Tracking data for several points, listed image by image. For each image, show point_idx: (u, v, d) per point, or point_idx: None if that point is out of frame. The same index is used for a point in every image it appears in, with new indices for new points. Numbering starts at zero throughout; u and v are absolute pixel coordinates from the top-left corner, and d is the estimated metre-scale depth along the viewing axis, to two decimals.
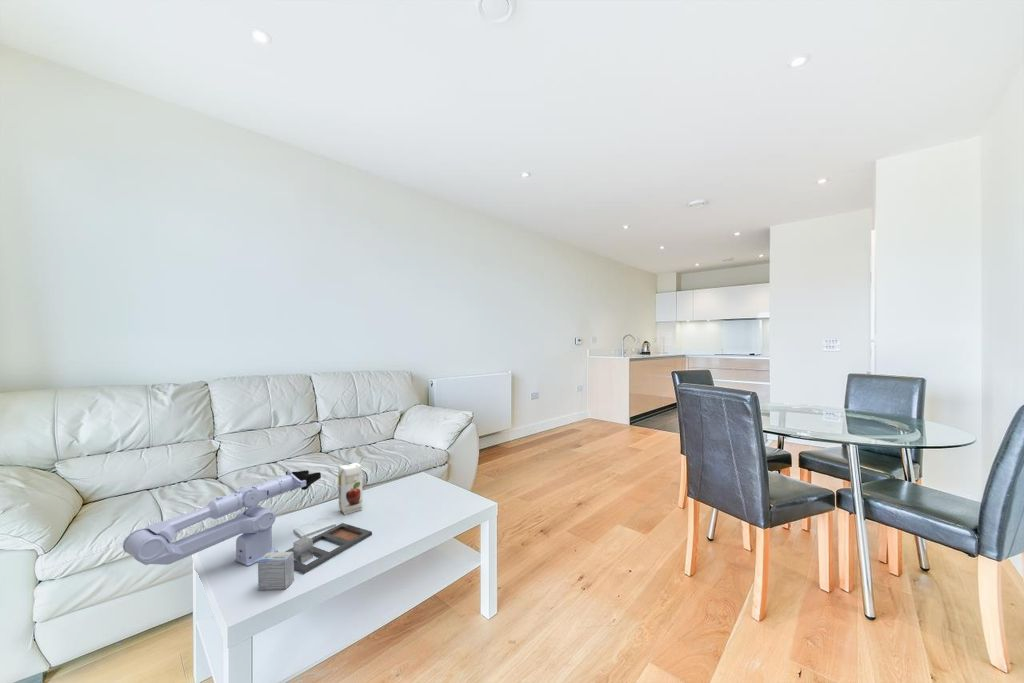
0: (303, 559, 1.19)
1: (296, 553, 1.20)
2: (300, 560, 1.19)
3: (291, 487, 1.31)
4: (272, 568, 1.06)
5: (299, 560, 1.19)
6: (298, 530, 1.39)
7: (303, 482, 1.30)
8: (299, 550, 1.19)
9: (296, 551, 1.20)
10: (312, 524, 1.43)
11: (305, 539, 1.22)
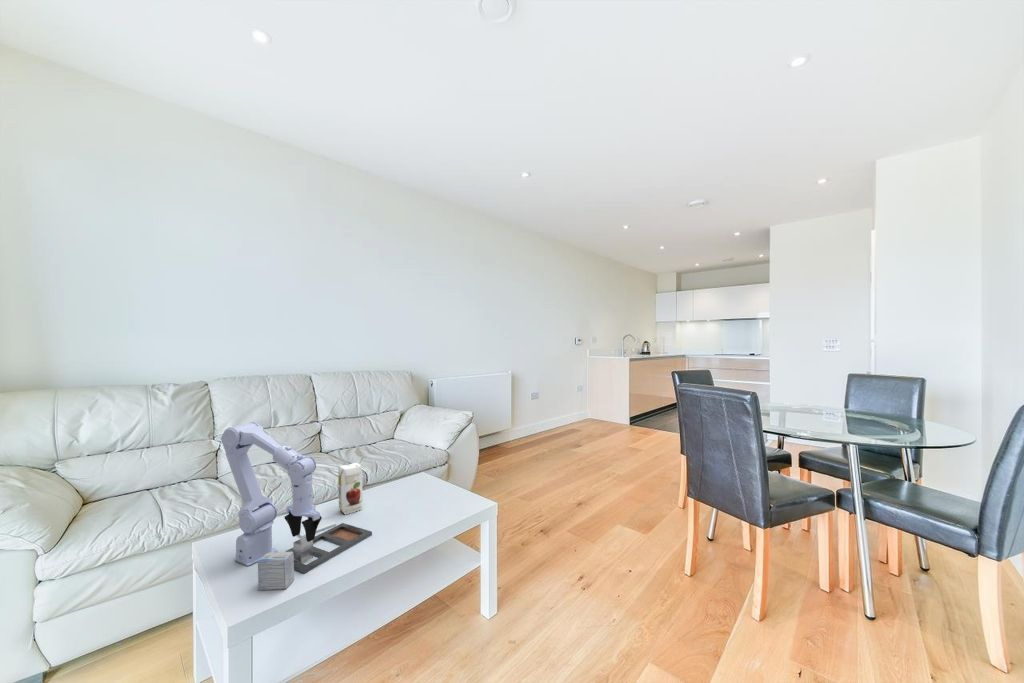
0: (303, 559, 1.19)
1: (296, 553, 1.20)
2: (300, 560, 1.19)
3: (304, 509, 1.19)
4: (272, 568, 1.06)
5: (299, 560, 1.19)
6: None
7: (318, 515, 1.18)
8: (299, 550, 1.19)
9: (296, 551, 1.20)
10: None
11: (305, 539, 1.22)
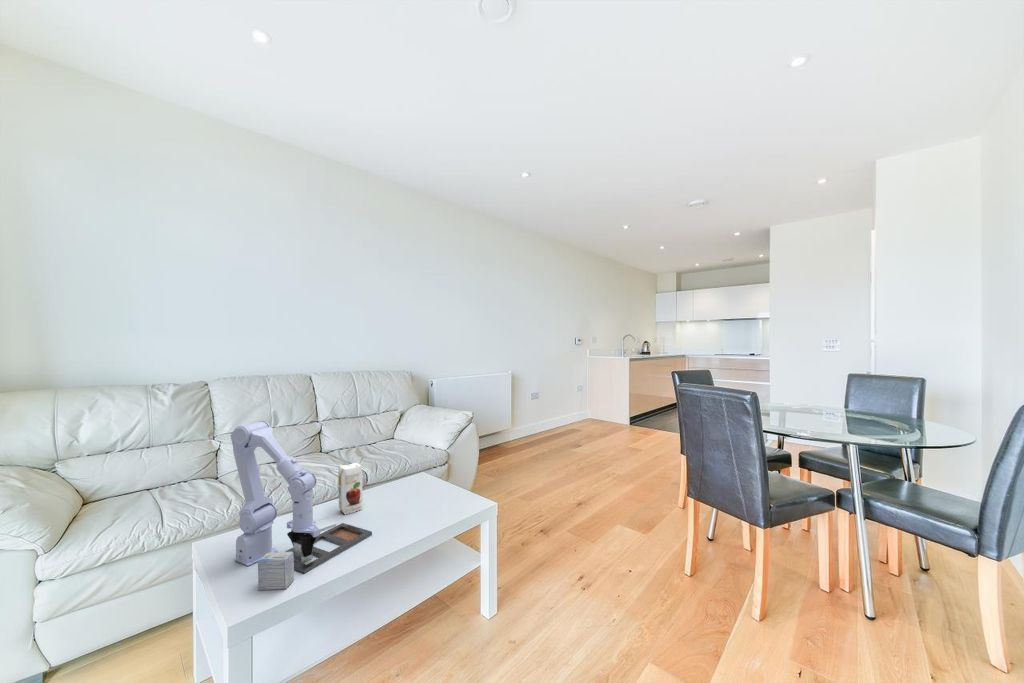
0: (303, 559, 1.19)
1: (296, 553, 1.20)
2: (300, 560, 1.19)
3: (304, 526, 1.19)
4: (272, 568, 1.06)
5: (299, 560, 1.19)
6: None
7: (318, 532, 1.18)
8: (299, 550, 1.19)
9: (296, 551, 1.20)
10: None
11: None
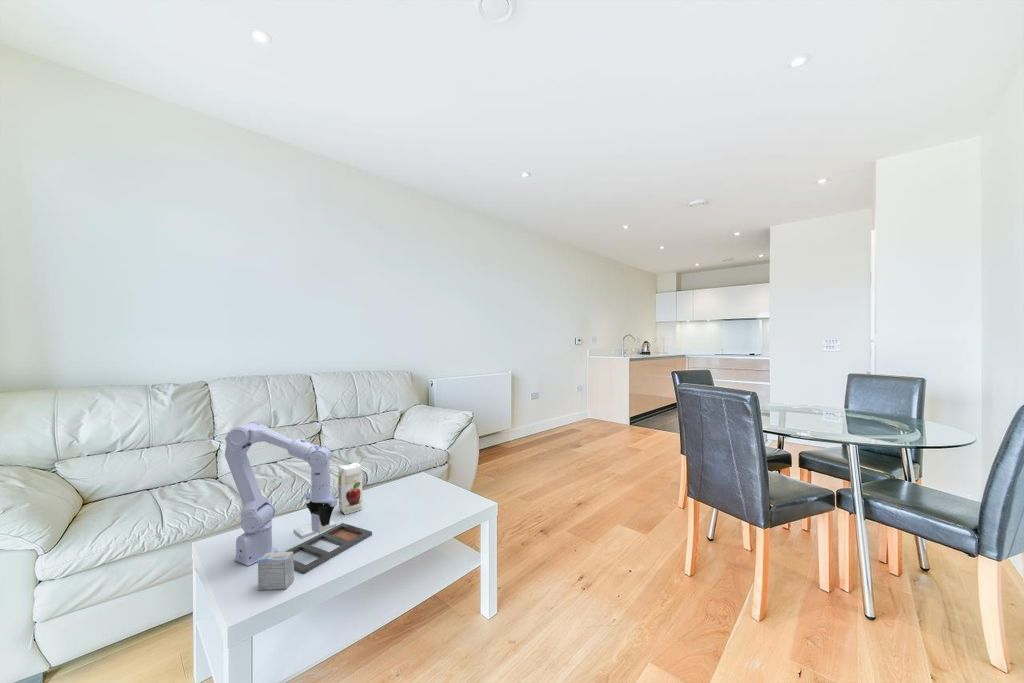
0: (321, 529, 1.25)
1: (314, 523, 1.25)
2: (318, 529, 1.24)
3: (322, 496, 1.25)
4: (272, 568, 1.06)
5: (317, 530, 1.24)
6: (298, 530, 1.39)
7: (336, 502, 1.24)
8: (317, 520, 1.24)
9: (314, 521, 1.25)
10: None
11: None
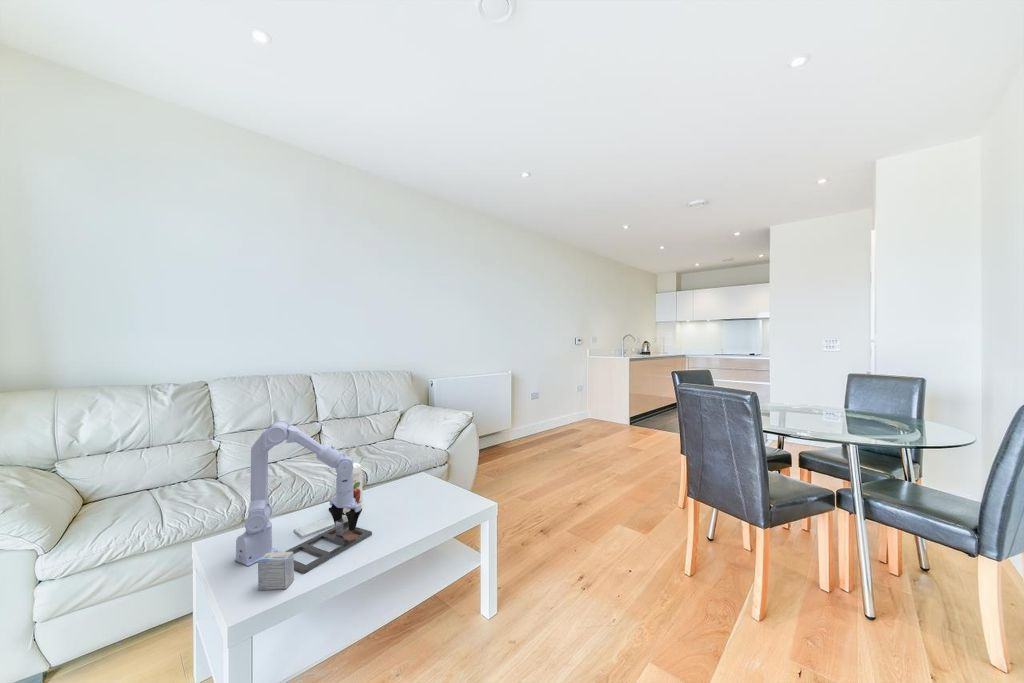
0: (345, 536, 1.33)
1: (338, 531, 1.33)
2: (342, 537, 1.32)
3: (346, 502, 1.33)
4: (272, 568, 1.06)
5: (341, 537, 1.33)
6: (299, 530, 1.39)
7: (360, 507, 1.33)
8: (341, 528, 1.33)
9: (338, 529, 1.33)
10: (313, 524, 1.43)
11: (345, 518, 1.36)
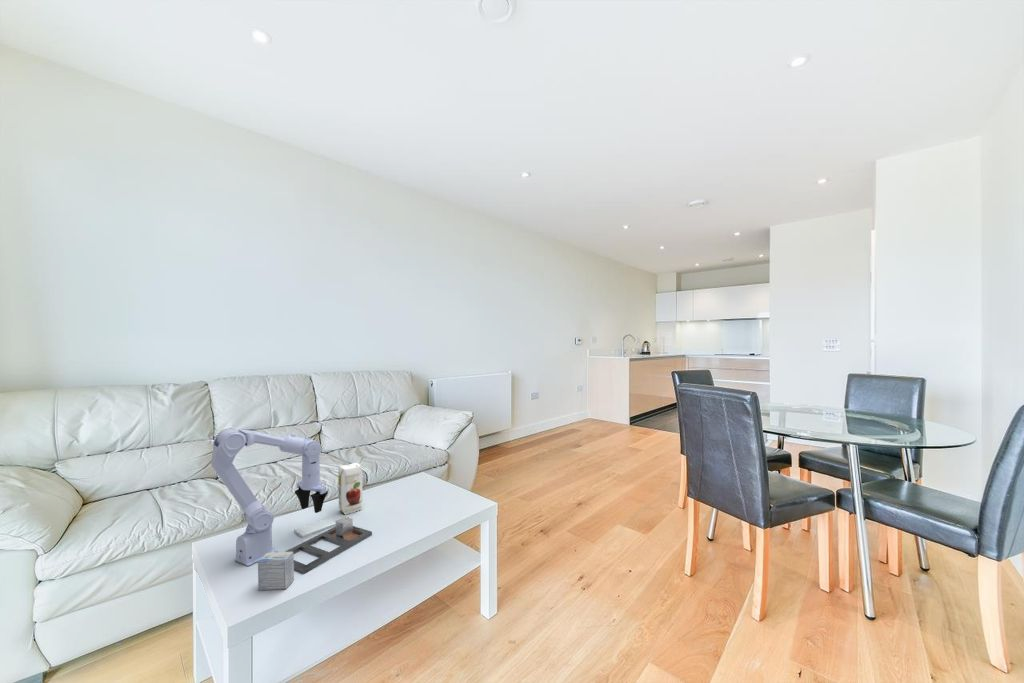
0: (345, 536, 1.33)
1: (338, 531, 1.33)
2: (342, 537, 1.32)
3: (312, 484, 1.35)
4: (272, 568, 1.06)
5: (341, 537, 1.33)
6: (299, 530, 1.39)
7: (325, 490, 1.34)
8: (341, 528, 1.33)
9: (338, 529, 1.33)
10: (313, 524, 1.43)
11: (345, 518, 1.36)
